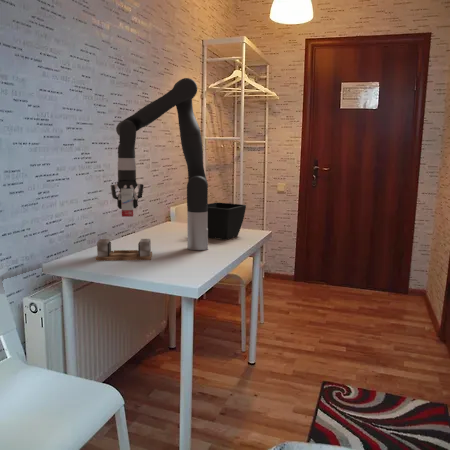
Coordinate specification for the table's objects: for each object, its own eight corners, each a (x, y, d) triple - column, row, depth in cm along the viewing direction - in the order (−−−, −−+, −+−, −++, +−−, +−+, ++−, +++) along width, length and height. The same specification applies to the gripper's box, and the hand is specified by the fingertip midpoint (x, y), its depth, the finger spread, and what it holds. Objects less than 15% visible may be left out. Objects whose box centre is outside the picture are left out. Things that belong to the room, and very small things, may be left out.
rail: (152, 254, 191) (151, 238, 190) (150, 259, 182) (150, 242, 180) (99, 255, 189) (99, 238, 188) (95, 260, 179) (95, 243, 178)
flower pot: (227, 241, 220) (228, 208, 218) (196, 237, 230) (196, 205, 227) (246, 236, 236) (247, 204, 234) (216, 232, 246) (216, 202, 243)
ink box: (133, 216, 187) (132, 188, 185) (121, 216, 186) (120, 188, 184) (134, 214, 196) (133, 187, 194) (122, 214, 195) (122, 187, 193)
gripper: (140, 168, 194) (141, 206, 197) (107, 168, 188) (108, 208, 191) (145, 169, 188) (146, 208, 190) (111, 169, 181) (112, 210, 184)
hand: (127, 208), depth 190 cm, fingers closed on ink box, 5 cm apart
